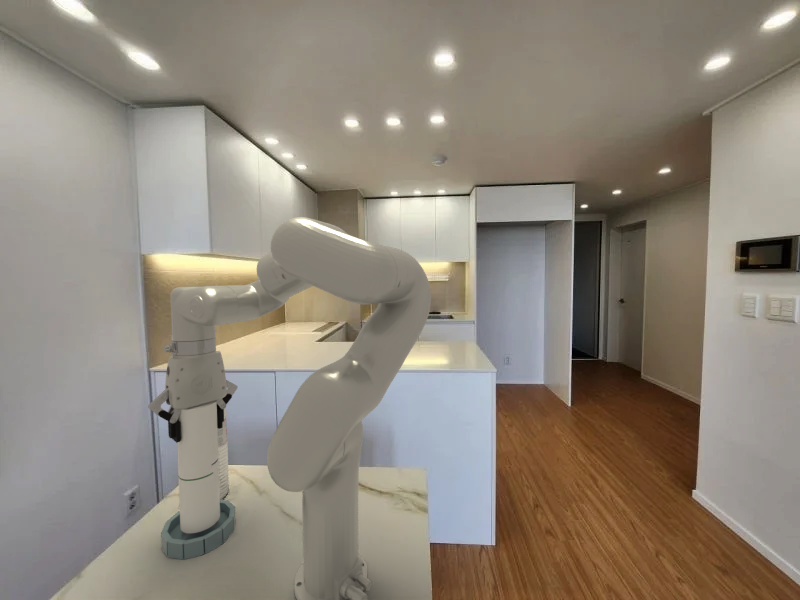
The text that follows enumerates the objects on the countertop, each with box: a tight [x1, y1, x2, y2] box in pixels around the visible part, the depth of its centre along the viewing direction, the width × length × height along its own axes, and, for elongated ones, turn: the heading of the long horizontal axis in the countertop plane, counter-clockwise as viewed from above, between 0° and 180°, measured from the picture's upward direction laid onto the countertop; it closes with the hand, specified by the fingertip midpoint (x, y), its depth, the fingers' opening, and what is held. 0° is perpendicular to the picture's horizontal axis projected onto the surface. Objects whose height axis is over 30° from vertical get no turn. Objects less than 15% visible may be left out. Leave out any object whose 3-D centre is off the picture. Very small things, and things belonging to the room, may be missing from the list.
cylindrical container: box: [176, 401, 220, 533], centre depth 70 cm, size 7×7×25 cm
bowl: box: [160, 499, 237, 560], centre depth 71 cm, size 13×13×3 cm
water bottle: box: [217, 408, 230, 500], centre depth 82 cm, size 7×7×25 cm
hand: (197, 432), depth 69 cm, fingers closed on cylindrical container, 7 cm apart
